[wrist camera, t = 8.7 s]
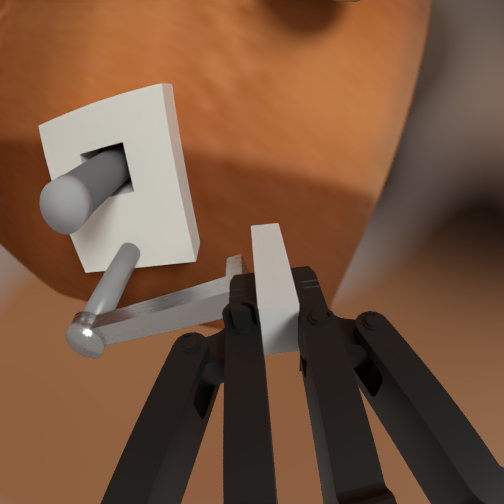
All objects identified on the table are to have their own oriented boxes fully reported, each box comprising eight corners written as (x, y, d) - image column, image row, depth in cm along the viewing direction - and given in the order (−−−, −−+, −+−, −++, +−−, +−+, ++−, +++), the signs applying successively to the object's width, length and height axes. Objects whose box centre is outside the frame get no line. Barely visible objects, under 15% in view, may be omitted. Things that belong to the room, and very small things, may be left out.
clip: (237, 244, 18) (237, 283, 15) (254, 282, 20) (257, 323, 17) (76, 299, 20) (57, 333, 17) (98, 325, 22) (83, 360, 19)
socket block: (58, 119, 24) (-36, 156, 11) (172, 84, 24) (107, 81, 11) (98, 254, 33) (46, 338, 21) (200, 242, 33) (180, 340, 20)
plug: (100, 148, 26) (33, 188, 16) (134, 139, 26) (74, 174, 16) (109, 183, 28) (50, 237, 18) (142, 176, 28) (91, 230, 18)
